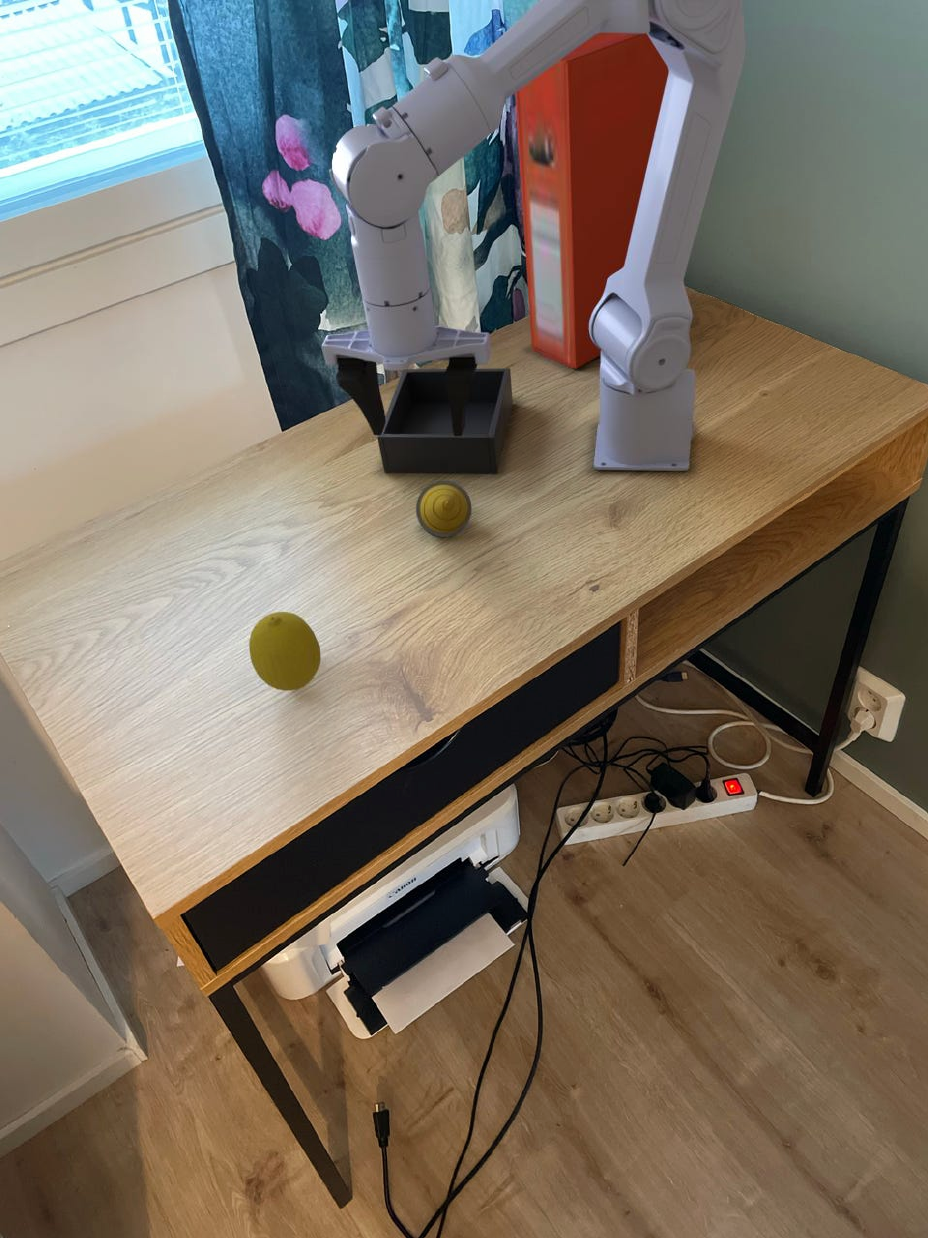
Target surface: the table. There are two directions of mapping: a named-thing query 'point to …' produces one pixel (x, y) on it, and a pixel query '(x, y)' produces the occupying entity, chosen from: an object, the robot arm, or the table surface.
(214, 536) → the table surface
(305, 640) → the lemon
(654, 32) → the robot arm
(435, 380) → the bin
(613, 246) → the file binder
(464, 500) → the yellow traffic cone
